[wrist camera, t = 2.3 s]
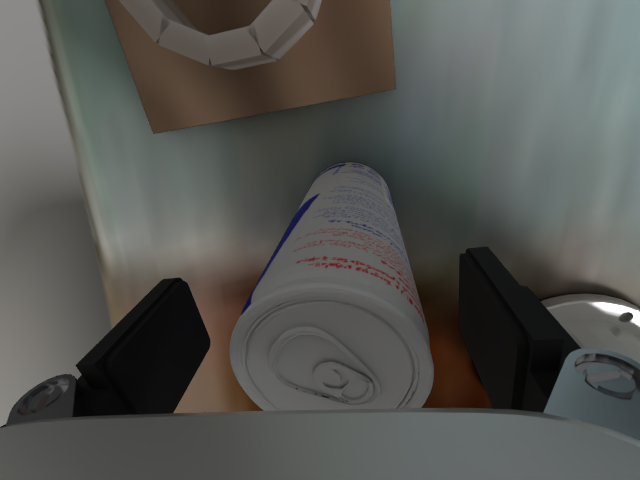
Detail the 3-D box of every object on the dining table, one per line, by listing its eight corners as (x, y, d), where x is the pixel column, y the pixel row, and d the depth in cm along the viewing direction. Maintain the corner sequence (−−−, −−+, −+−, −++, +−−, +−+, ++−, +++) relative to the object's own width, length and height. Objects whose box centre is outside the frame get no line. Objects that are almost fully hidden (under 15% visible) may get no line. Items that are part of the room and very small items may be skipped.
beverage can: (304, 164, 21) (201, 288, 8) (389, 157, 20) (445, 282, 7) (313, 240, 23) (246, 439, 10) (390, 237, 23) (432, 450, 9)
